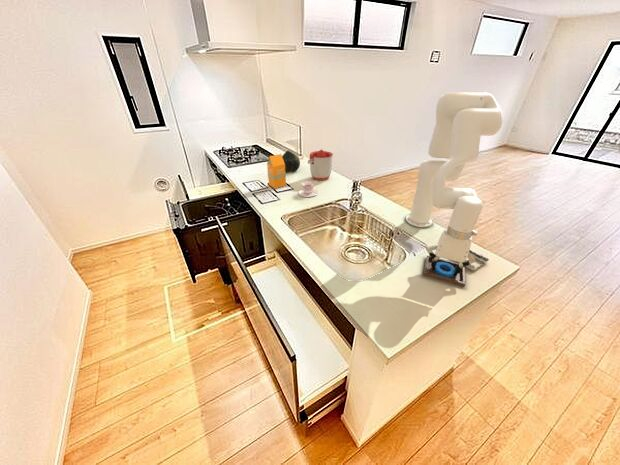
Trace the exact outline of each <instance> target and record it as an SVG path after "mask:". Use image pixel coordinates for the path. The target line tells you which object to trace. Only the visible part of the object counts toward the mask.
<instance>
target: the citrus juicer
mask: <svg viewBox="0 0 620 465" xmlns="http://www.w3.org/2000/svg"><path fill="white" fill-rule="evenodd" d="M333 156H334V154H333V152H330V151H327V150H323V149H320V150H315V151H311V152H310V153H309V159H308V160H307V164H309V169H310V174H311V178H312V179H313V180H315V181H317V182H319V181H326V180H329V179H330V177H331V174H332V170H333Z"/></svg>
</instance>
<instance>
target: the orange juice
mask: <svg viewBox="0 0 620 465" xmlns="http://www.w3.org/2000/svg"><path fill="white" fill-rule="evenodd" d="M282 156H283V154H282V153H279V154H274V155H270V156H269V158H268V160H267V163H266V166H267V168H266V169H267V176H268V177H267V178H268V186H270V187H271V188H273V189H278V188H279V189H280V188H283V187H286V186H287V175H286V173H287V172H285V163H284V160H283V158H282Z"/></svg>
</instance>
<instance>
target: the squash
mask: <svg viewBox="0 0 620 465" xmlns="http://www.w3.org/2000/svg"><path fill="white" fill-rule="evenodd" d="M282 158H283V160H284V163H285V173H287V172H290V171H291V172H297V171H298V170H299V168H300V165H301V160H300V157H299V156H298V155H297V154H295V153H293V152H292V151H290V150H286V151H285V152H284V153H283V154H282Z"/></svg>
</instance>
